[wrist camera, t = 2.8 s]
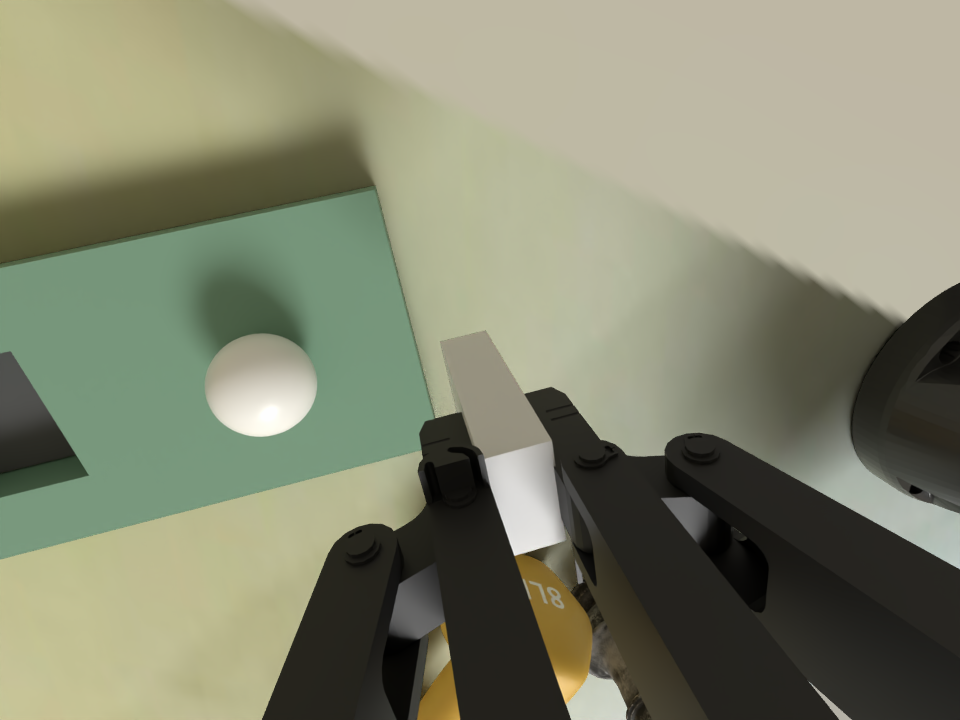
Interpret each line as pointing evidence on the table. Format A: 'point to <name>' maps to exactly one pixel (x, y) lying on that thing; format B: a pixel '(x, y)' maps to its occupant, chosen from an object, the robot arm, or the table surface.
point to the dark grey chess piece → (609, 656)
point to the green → (196, 366)
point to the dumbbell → (560, 631)
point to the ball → (260, 385)
